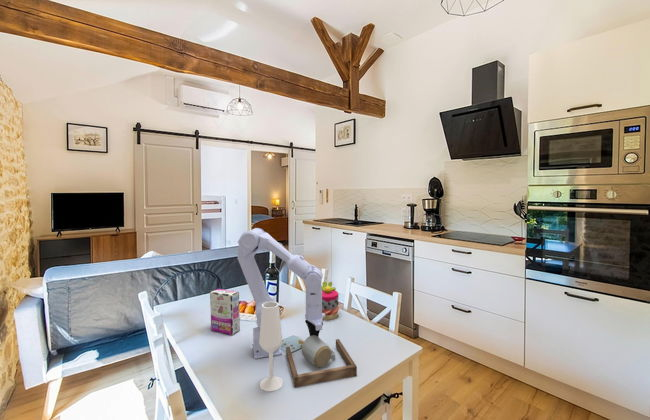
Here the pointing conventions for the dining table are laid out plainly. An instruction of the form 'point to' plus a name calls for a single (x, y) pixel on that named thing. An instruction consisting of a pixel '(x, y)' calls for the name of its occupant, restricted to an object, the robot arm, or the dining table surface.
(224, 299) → the candy bar box
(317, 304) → the robot arm
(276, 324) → the champagne flute
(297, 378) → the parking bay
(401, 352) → the dining table surface
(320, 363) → the ceramic mug
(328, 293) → the cake
